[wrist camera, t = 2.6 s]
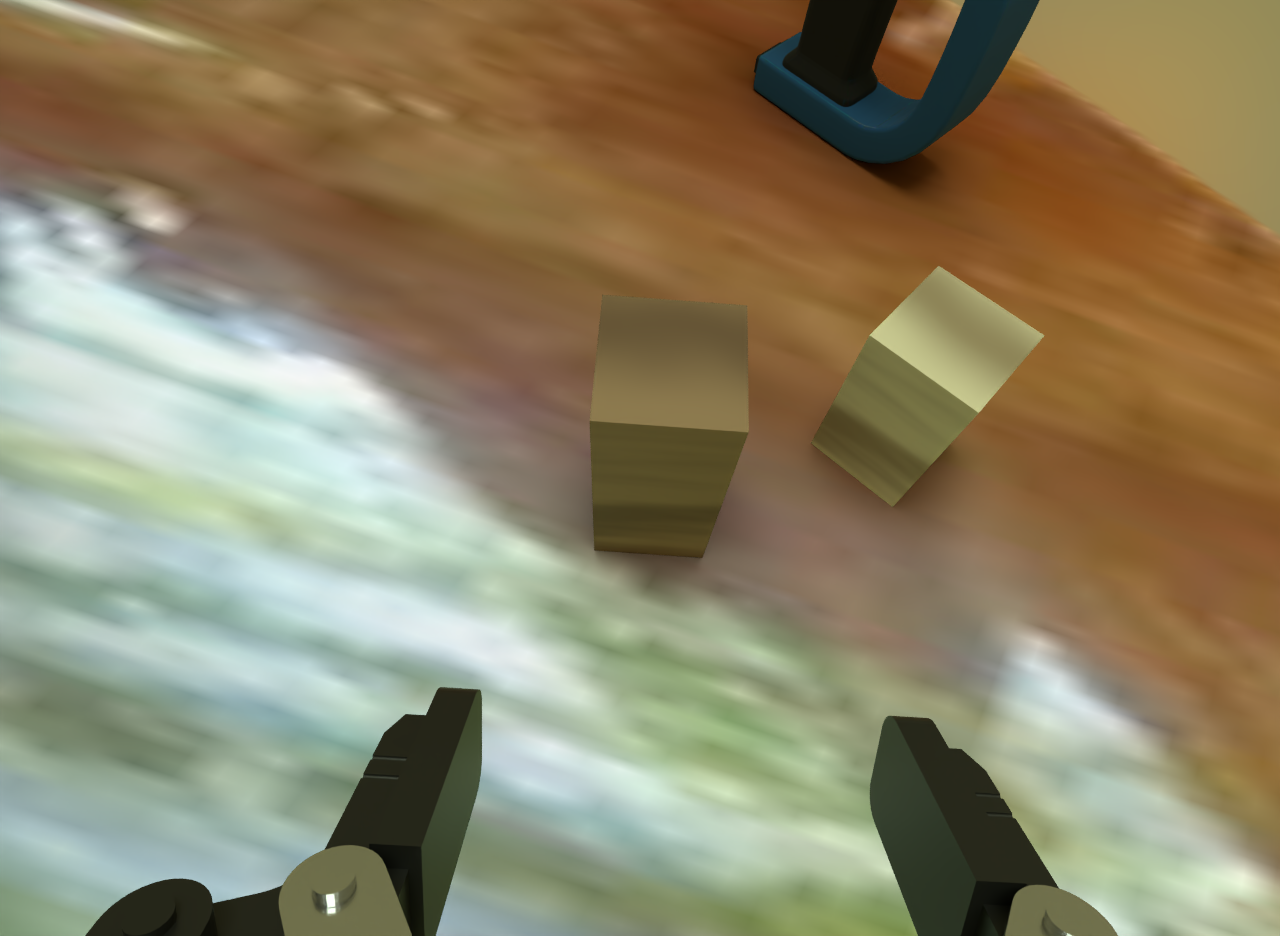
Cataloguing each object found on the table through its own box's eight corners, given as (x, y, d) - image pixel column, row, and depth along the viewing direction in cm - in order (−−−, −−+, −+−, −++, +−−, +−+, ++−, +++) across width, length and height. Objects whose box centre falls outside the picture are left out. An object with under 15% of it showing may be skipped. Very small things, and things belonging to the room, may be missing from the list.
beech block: (892, 507, 35) (978, 412, 27) (810, 443, 37) (869, 335, 28) (947, 442, 37) (1044, 335, 29) (868, 383, 38) (938, 265, 30)
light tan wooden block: (702, 557, 34) (748, 432, 23) (594, 550, 33) (589, 420, 23) (704, 461, 36) (747, 305, 25) (603, 454, 36) (602, 294, 25)
